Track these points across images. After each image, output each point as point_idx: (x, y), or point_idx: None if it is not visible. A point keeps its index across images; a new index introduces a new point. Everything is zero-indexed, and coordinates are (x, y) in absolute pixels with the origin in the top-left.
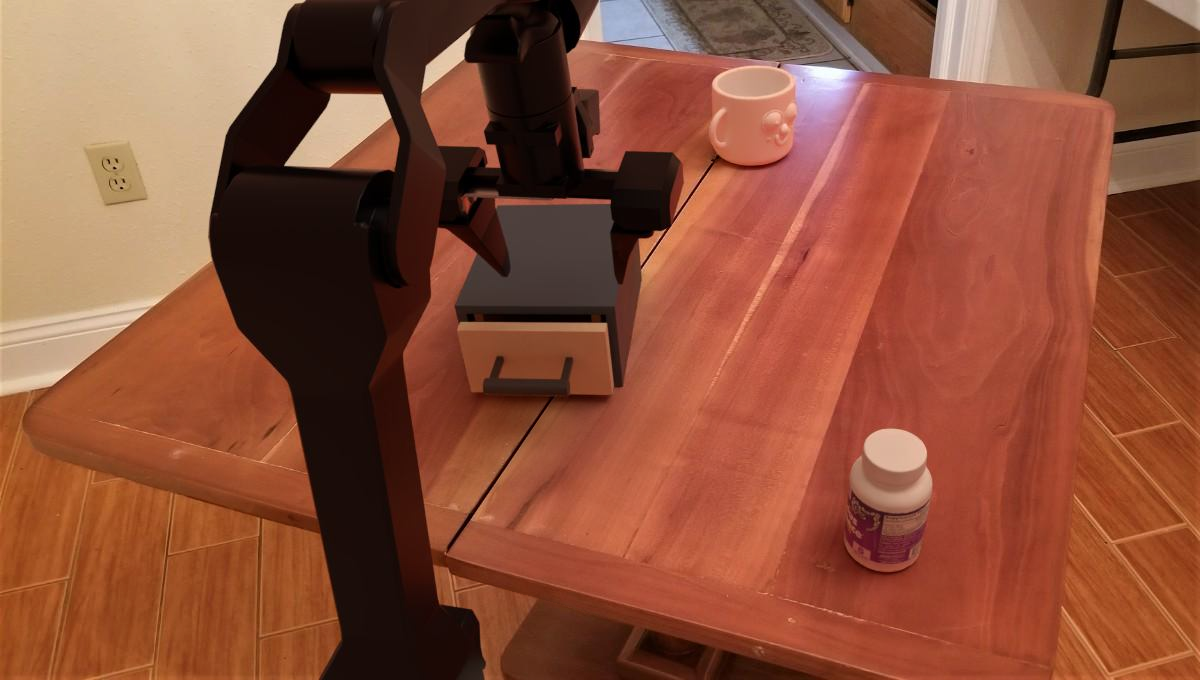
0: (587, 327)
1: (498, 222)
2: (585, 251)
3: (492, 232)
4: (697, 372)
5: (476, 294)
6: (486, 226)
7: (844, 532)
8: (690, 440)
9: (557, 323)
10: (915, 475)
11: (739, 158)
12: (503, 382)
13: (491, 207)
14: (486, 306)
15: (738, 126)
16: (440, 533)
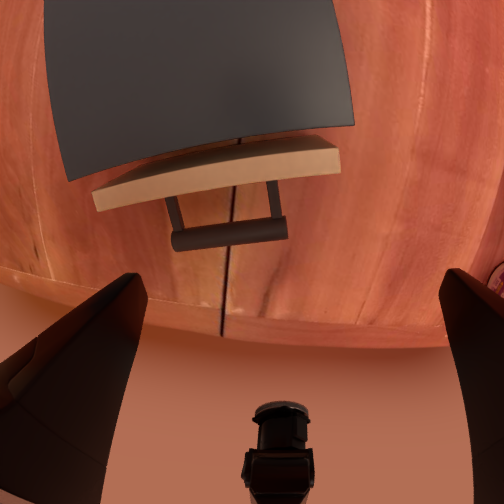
0: (306, 164)
1: (48, 379)
2: None
3: (79, 416)
4: (401, 88)
5: (81, 143)
6: (74, 453)
7: (490, 288)
8: (406, 198)
9: (245, 161)
10: None
11: None
12: (198, 245)
13: (20, 441)
14: (109, 167)
15: None
16: (208, 326)
